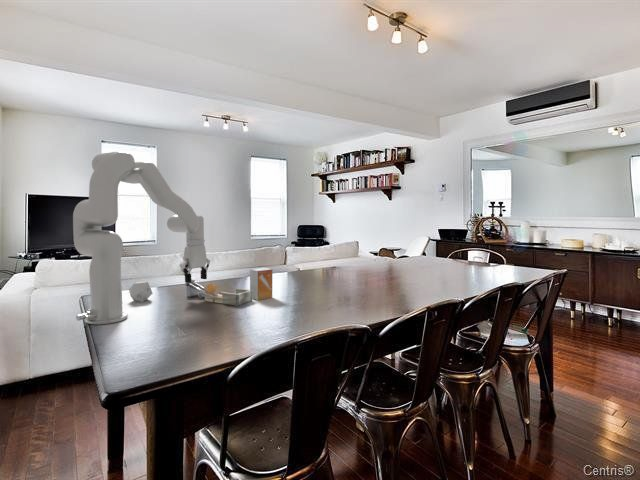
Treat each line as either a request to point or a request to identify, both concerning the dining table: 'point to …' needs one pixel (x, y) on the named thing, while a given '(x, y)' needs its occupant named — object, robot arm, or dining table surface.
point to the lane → (231, 297)
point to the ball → (211, 288)
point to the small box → (261, 283)
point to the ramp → (196, 290)
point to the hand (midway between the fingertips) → (196, 280)
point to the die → (140, 291)
